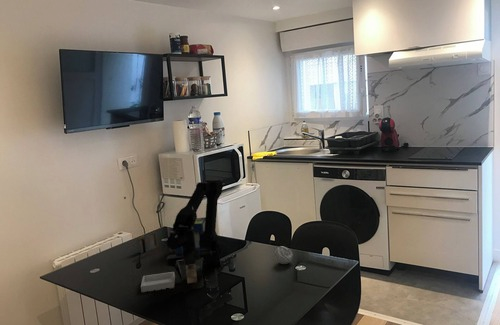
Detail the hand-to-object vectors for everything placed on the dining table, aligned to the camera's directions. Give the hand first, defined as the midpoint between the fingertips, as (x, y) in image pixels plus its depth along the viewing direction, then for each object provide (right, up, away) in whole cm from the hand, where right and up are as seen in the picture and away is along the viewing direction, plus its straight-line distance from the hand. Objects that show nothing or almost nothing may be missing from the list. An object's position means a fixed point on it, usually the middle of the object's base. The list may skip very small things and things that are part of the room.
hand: (191, 277), depth 181 cm
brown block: (0, -1, 0) cm, 1 cm away
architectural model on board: (-29, +2, +45) cm, 54 cm away
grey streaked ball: (+40, +3, +10) cm, 41 cm away
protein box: (-5, +3, +39) cm, 39 cm away
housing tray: (-14, -3, -2) cm, 14 cm away
